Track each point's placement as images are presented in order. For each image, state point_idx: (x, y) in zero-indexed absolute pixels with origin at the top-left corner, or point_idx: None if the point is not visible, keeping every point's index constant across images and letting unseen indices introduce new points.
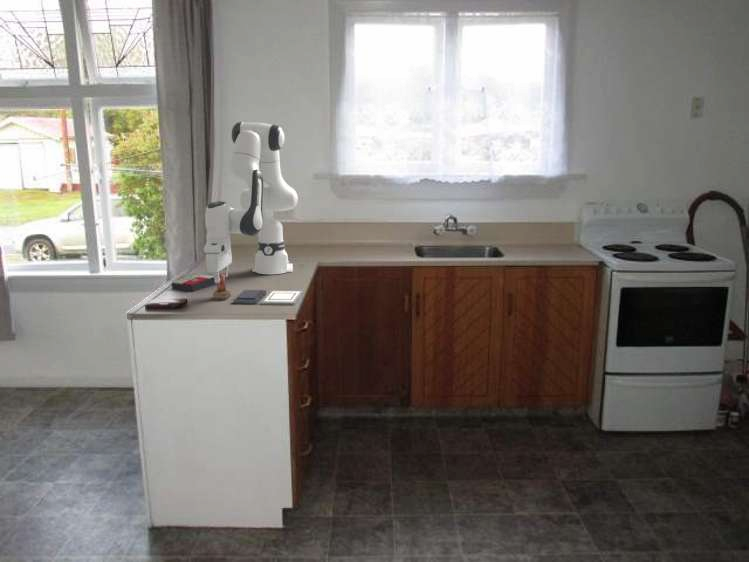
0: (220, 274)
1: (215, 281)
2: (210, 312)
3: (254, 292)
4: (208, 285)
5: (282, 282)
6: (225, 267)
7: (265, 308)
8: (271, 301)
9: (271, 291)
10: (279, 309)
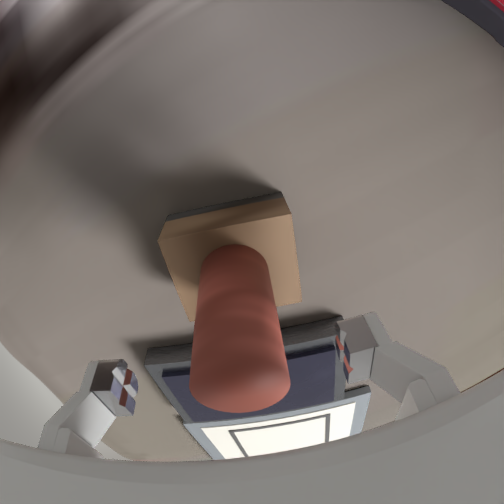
0: (273, 377)
1: (91, 373)
2: (6, 314)
3: (284, 397)
4: (492, 33)
5: (497, 338)
6: (402, 416)
7: (151, 431)
8: (209, 439)
9: (356, 398)
10: (162, 449)
